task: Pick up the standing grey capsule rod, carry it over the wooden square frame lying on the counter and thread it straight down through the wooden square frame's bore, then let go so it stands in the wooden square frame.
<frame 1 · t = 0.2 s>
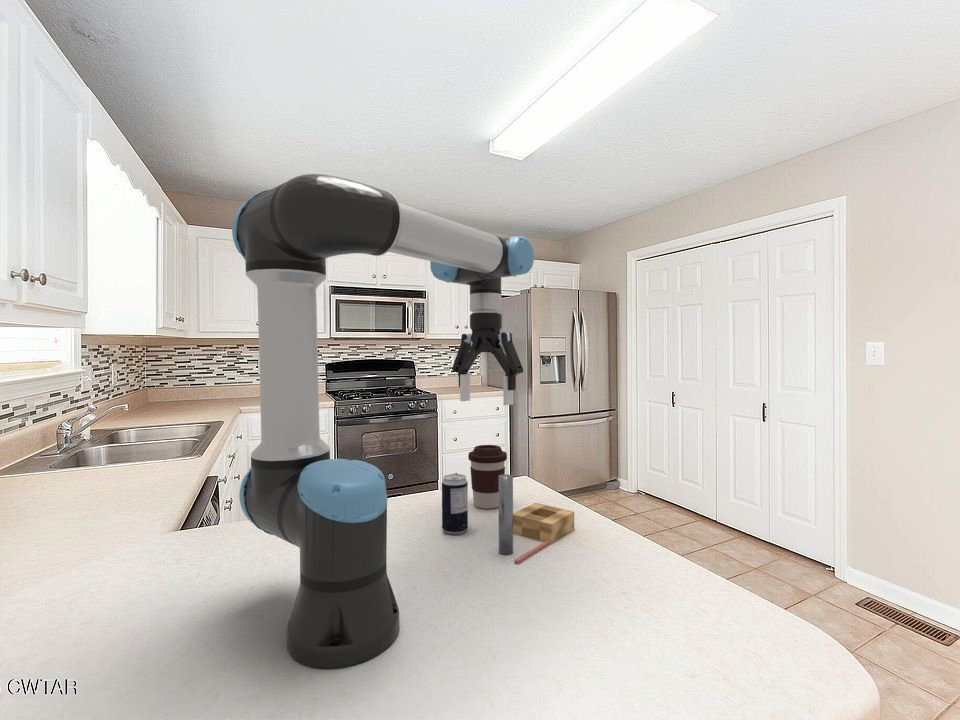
hand: (486, 402, 112), 27 cm above the countertop, fingers open, 13 cm apart
grey capsule rod: (505, 552, 93), on the countertop
beverage can: (454, 531, 104), on the countertop
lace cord: (533, 552, 93), on the countertop
coffee cup: (487, 505, 122), on the countertop
wooden square frame: (543, 530, 104), on the countertop
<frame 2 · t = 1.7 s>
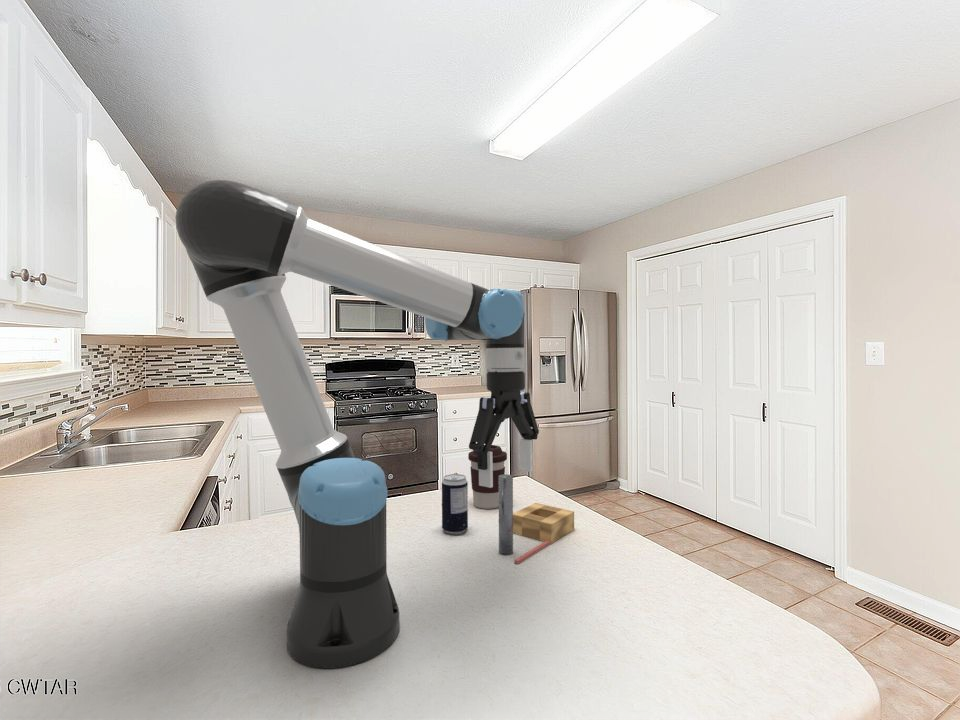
hand: (507, 478, 93), 15 cm above the countertop, fingers open, 13 cm apart
nothing on the countertop moved.
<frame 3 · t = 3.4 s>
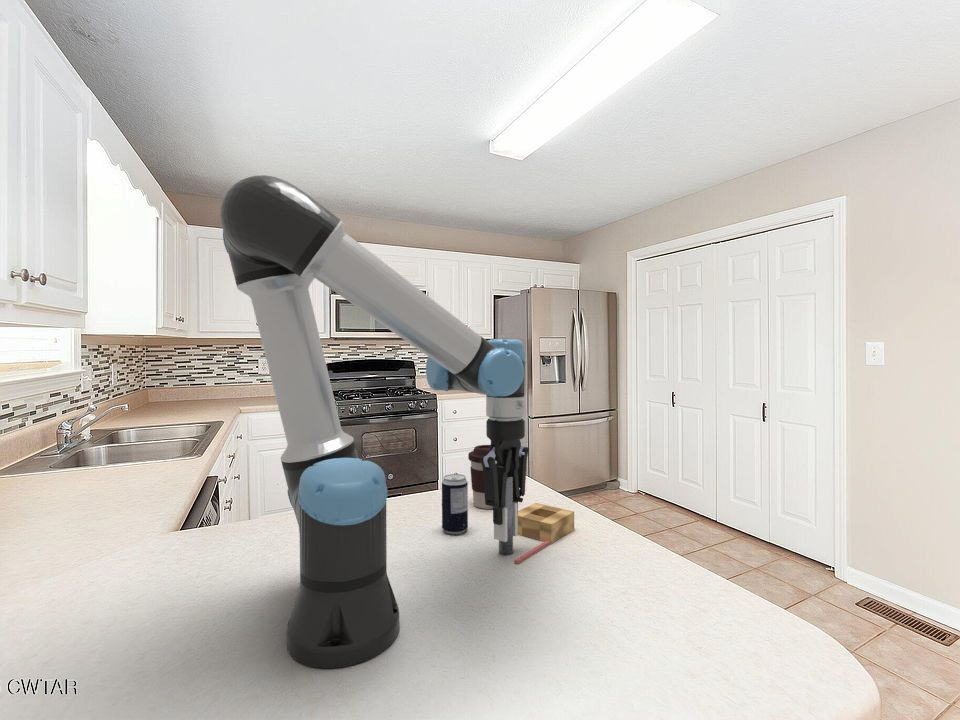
hand: (505, 536, 93), 3 cm above the countertop, fingers closed on grey capsule rod, 3 cm apart
grey capsule rod: (505, 552, 93), on the countertop, touching gripper
everything else where it was.
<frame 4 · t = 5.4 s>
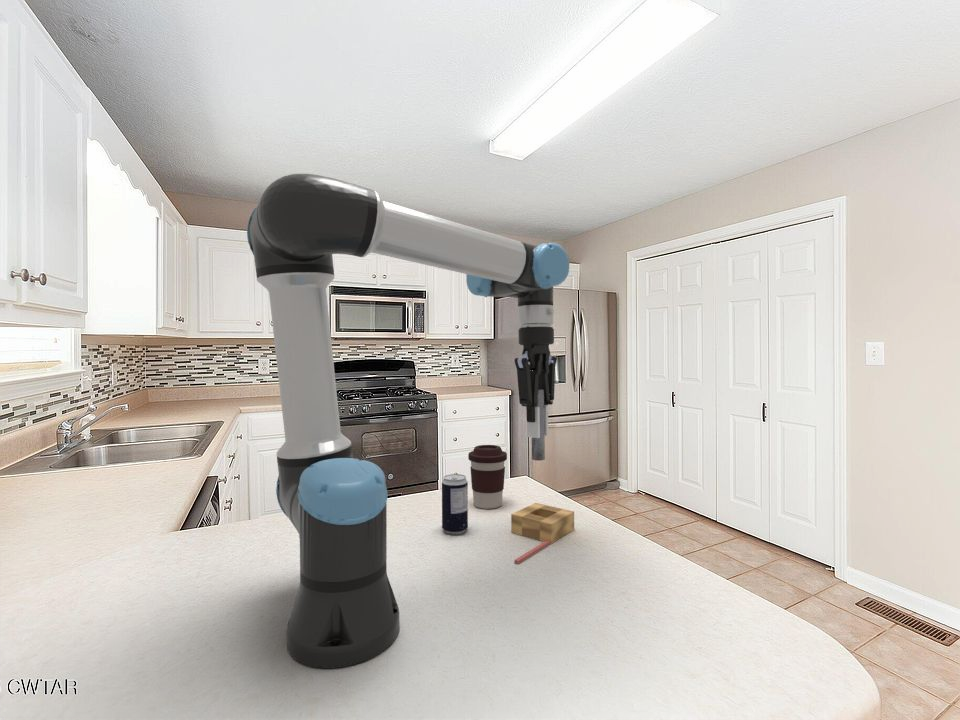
hand: (537, 435, 102), 21 cm above the countertop, fingers closed on grey capsule rod, 3 cm apart
grey capsule rod: (538, 458, 102), point 16 cm above the countertop, touching gripper
everything else where it was.
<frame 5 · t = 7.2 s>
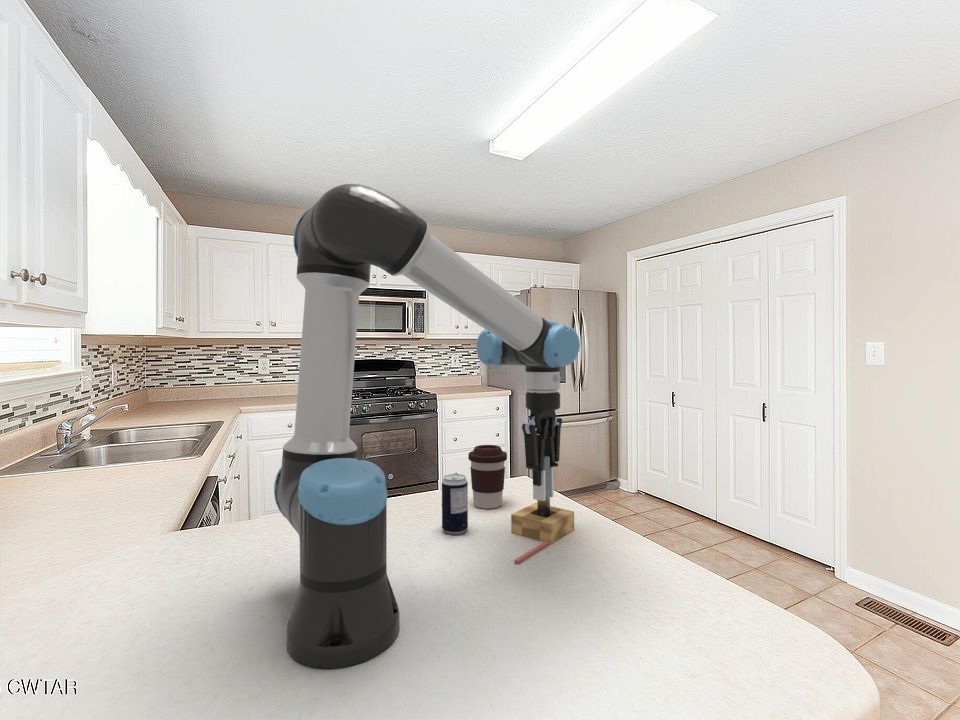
hand: (543, 497, 104), 7 cm above the countertop, fingers closed on grey capsule rod, 3 cm apart
grey capsule rod: (543, 523, 104), point 2 cm above the countertop, touching gripper
everything else where it was.
when the fingers open (5 cm above the countertop, at t = 7.7 s): grey capsule rod stays where it is, resting in wooden square frame.
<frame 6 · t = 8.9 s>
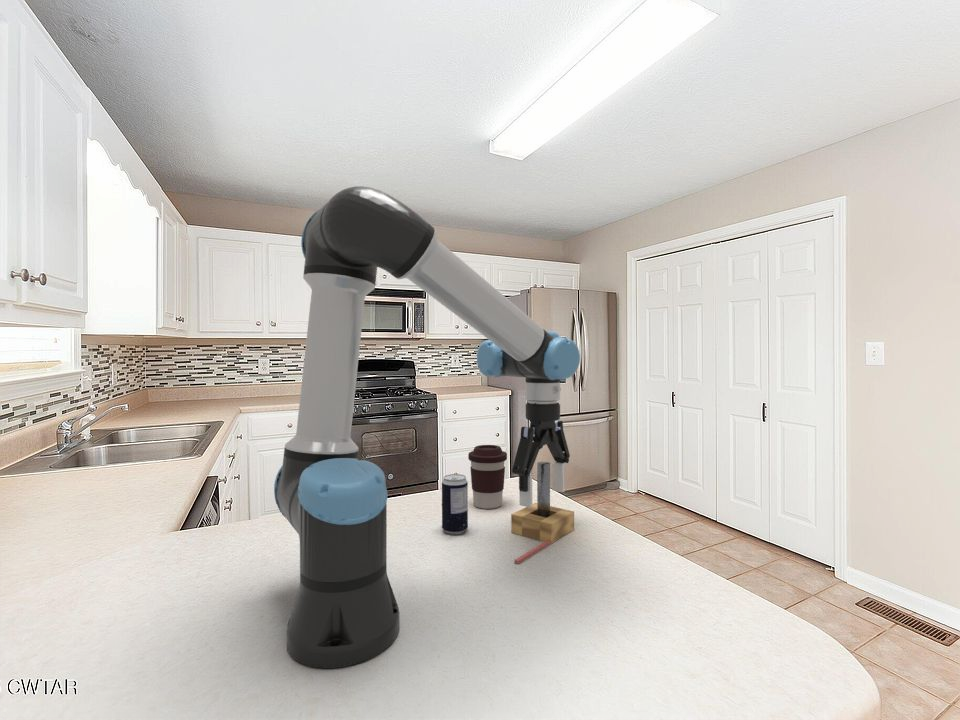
hand: (542, 498, 104), 7 cm above the countertop, fingers open, 13 cm apart
grey capsule rod: (543, 530, 104), resting in wooden square frame
everything else where it was.
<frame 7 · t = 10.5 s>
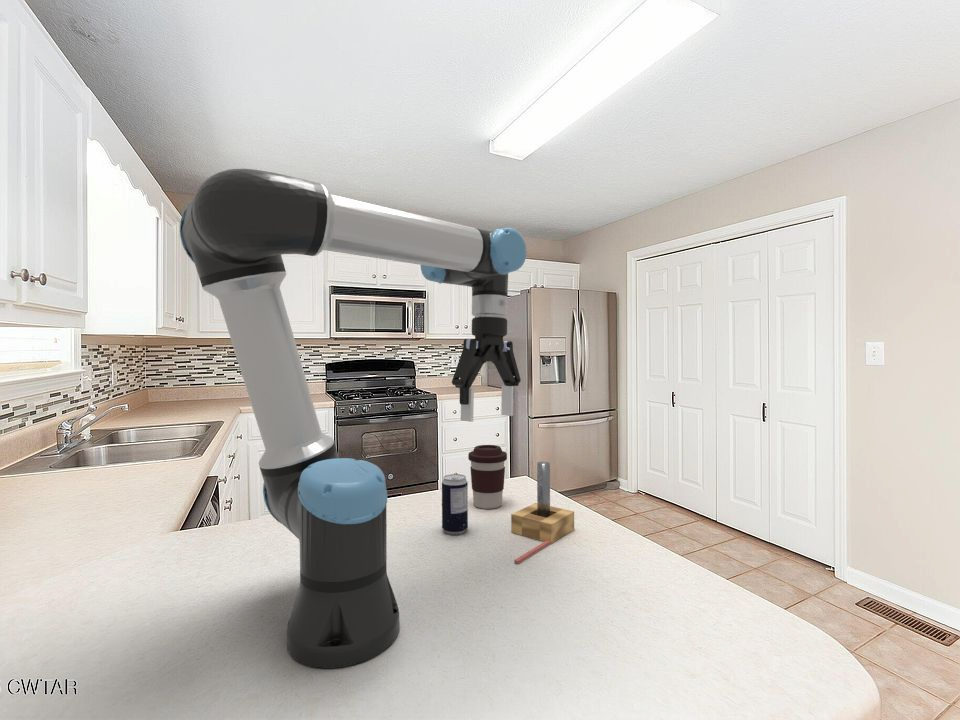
hand: (488, 418, 100), 25 cm above the countertop, fingers open, 13 cm apart
nothing on the countertop moved.
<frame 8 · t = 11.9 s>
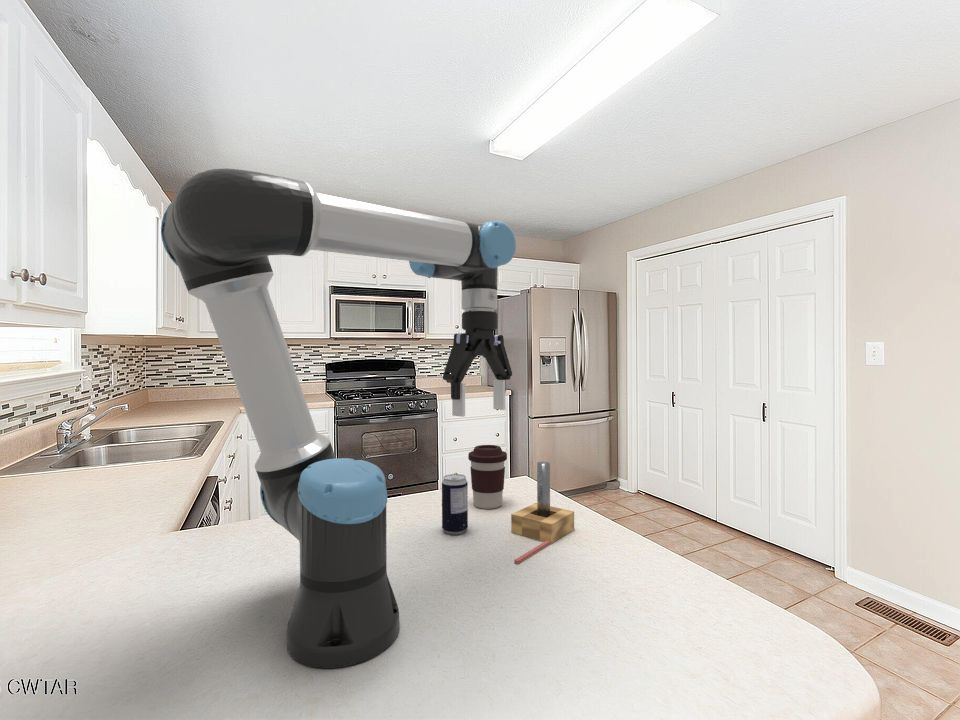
hand: (480, 412, 99), 27 cm above the countertop, fingers open, 13 cm apart
nothing on the countertop moved.
at the end: grey capsule rod 0.2 cm from the wooden square frame (horizontally); grey capsule rod resting in wooden square frame; grey capsule rod tilted 0° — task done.
